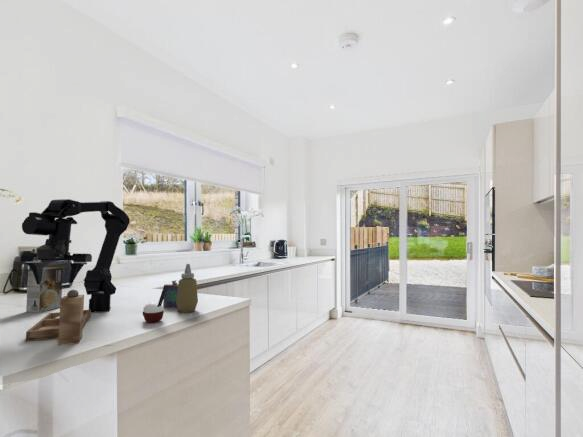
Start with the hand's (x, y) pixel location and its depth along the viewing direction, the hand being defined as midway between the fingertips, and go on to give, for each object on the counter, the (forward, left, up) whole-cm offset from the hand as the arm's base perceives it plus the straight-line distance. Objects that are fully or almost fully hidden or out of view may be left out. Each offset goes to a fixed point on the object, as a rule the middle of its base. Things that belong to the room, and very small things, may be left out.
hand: (54, 284), depth 102 cm
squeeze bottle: (-42, 0, -13) cm, 44 cm away
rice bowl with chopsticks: (-30, +11, -13) cm, 34 cm away
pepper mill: (-9, +23, -13) cm, 27 cm away
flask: (-38, -10, -13) cm, 41 cm away
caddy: (-4, +6, -13) cm, 14 cm away
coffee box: (+8, -26, -13) cm, 31 cm away
